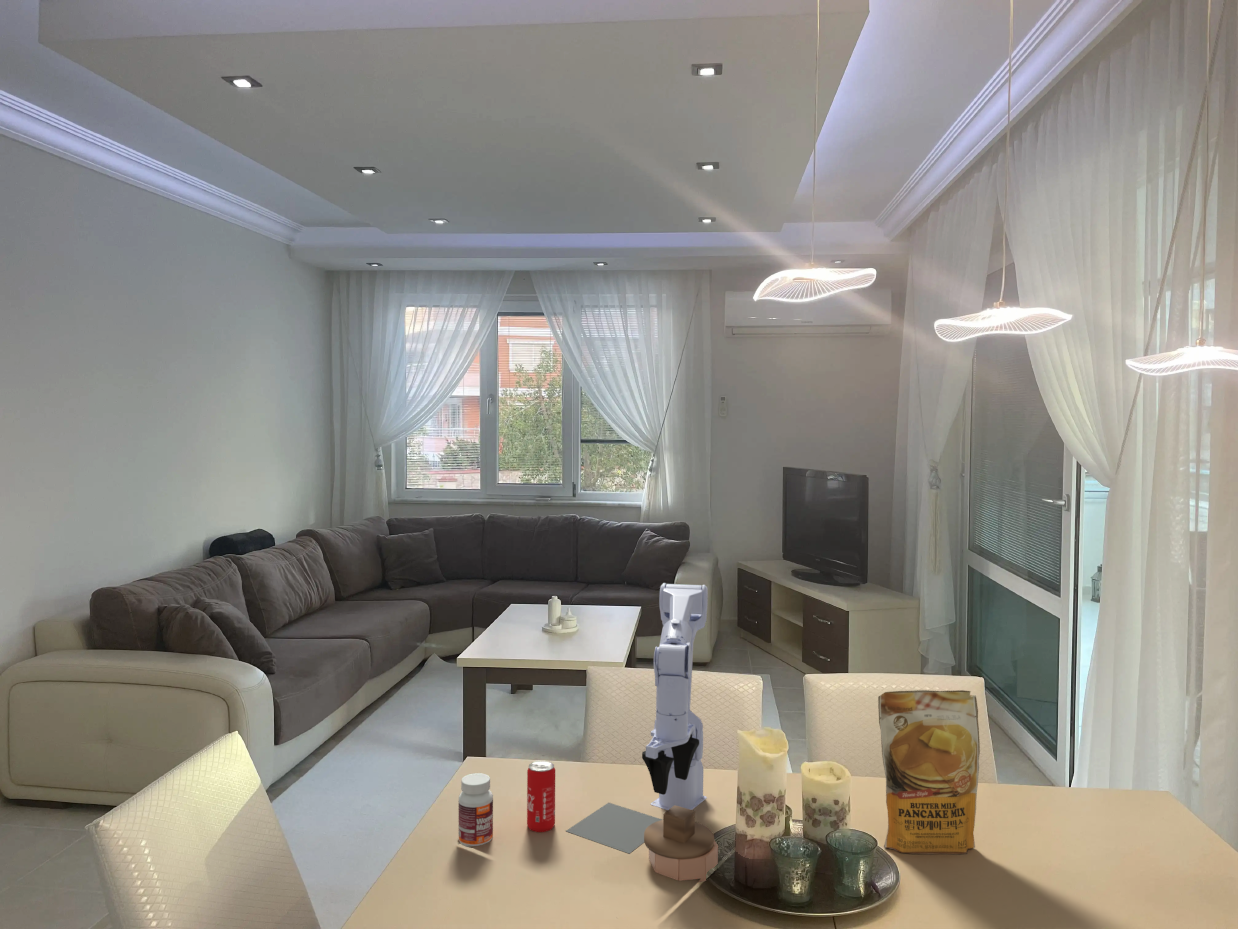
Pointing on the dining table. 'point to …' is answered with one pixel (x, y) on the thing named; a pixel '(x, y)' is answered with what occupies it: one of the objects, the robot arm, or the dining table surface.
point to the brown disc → (679, 835)
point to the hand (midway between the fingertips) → (670, 785)
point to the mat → (614, 827)
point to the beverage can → (541, 796)
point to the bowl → (685, 865)
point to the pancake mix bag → (930, 769)
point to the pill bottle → (475, 810)
